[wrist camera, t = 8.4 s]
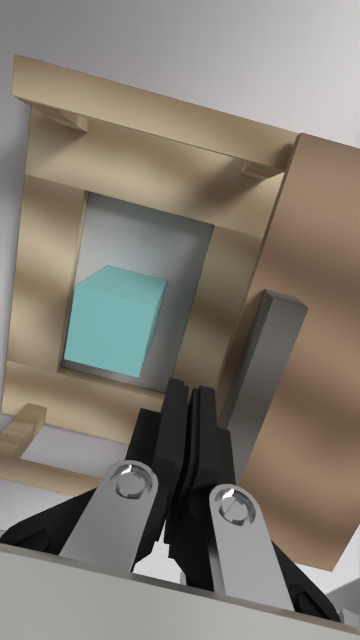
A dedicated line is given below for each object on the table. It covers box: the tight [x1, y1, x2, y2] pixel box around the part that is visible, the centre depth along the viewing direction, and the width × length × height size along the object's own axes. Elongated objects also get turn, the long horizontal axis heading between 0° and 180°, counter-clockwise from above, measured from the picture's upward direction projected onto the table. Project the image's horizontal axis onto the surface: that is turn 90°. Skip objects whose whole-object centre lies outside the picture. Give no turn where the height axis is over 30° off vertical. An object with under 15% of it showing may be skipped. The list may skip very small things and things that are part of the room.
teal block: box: [64, 265, 167, 378], centre depth 23 cm, size 4×4×7 cm
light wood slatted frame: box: [0, 54, 299, 497], centre depth 23 cm, size 24×27×7 cm
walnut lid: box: [214, 133, 360, 572], centre depth 18 cm, size 24×11×3 cm, turn 166°
